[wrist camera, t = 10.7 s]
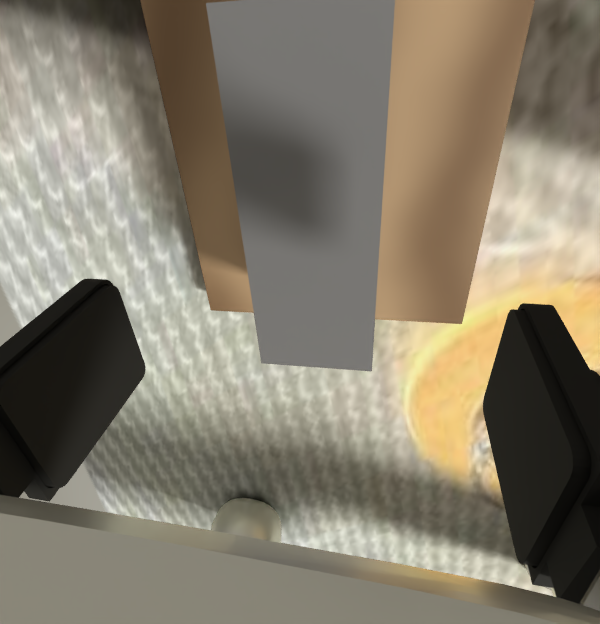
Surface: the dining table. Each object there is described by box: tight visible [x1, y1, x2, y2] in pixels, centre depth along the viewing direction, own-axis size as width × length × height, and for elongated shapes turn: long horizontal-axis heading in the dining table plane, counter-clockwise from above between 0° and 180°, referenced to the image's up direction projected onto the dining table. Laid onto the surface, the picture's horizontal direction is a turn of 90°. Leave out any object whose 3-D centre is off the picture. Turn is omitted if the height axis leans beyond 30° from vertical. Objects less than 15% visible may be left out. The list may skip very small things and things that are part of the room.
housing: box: [206, 0, 395, 371], centre depth 16 cm, size 5×12×6 cm, turn 3°
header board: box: [140, 0, 535, 324], centre depth 17 cm, size 14×16×6 cm
